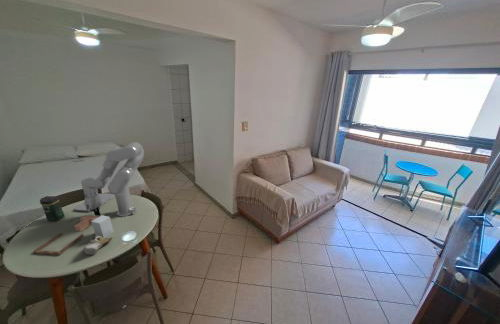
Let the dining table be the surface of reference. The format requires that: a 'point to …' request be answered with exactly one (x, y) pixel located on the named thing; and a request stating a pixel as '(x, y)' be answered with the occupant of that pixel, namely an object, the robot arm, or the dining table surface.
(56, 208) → the coffee jar
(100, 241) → the ceramic sculpture
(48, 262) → the dining table surface
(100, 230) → the supplement box
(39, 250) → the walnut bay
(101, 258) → the dining table surface
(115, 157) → the robot arm
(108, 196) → the tablet
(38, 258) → the dining table surface
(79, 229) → the t block
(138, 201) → the dining table surface
